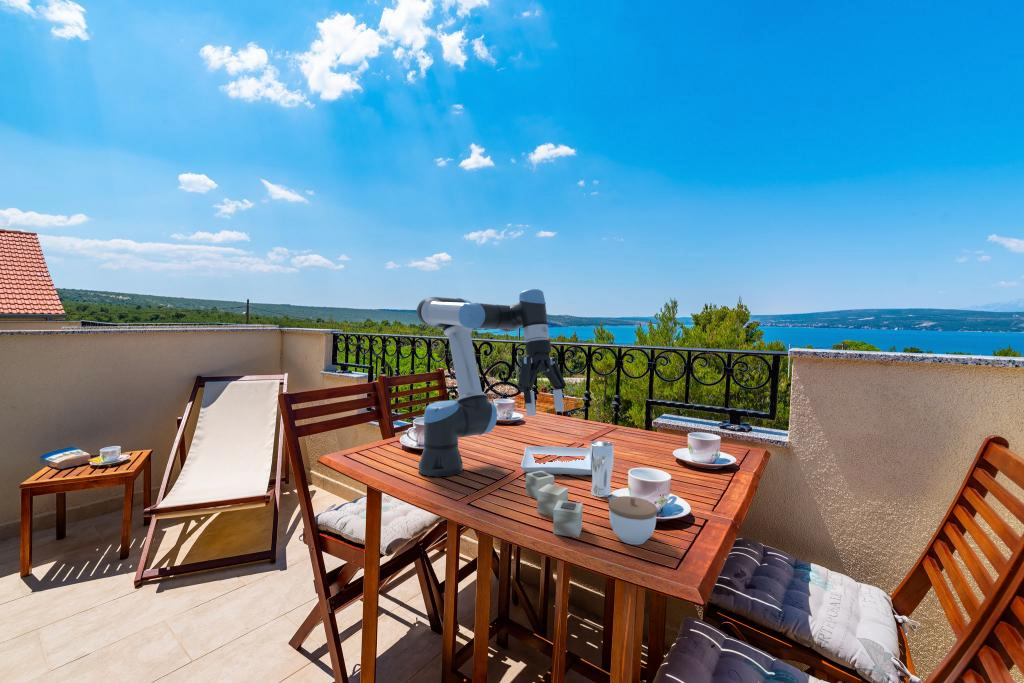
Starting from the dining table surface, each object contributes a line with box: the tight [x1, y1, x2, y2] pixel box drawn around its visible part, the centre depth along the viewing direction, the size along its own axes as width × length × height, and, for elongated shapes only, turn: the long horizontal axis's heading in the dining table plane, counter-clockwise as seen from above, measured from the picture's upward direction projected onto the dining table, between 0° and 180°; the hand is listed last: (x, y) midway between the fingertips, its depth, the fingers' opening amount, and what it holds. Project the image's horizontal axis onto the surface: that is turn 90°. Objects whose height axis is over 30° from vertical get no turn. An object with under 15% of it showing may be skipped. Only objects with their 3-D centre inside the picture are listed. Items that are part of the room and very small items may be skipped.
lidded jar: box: [608, 495, 658, 546], centre depth 94 cm, size 11×11×9 cm
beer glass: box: [589, 440, 615, 498], centre depth 121 cm, size 7×7×15 cm
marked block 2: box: [552, 500, 584, 539], centre depth 98 cm, size 6×6×6 cm
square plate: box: [520, 446, 592, 476], centre depth 148 cm, size 27×27×4 cm
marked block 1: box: [525, 471, 555, 501], centre depth 120 cm, size 6×6×6 cm
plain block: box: [536, 484, 569, 518], centre depth 108 cm, size 6×6×6 cm
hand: (546, 413), depth 117 cm, fingers open, 13 cm apart
